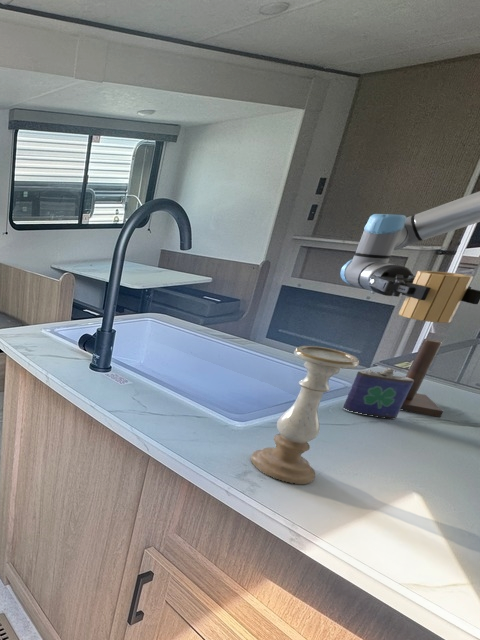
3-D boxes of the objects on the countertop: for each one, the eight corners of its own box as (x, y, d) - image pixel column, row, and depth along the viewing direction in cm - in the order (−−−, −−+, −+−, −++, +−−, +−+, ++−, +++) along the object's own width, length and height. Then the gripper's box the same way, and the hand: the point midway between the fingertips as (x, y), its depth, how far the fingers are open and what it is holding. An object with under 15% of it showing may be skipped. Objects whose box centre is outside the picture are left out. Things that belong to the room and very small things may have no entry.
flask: (392, 415, 91) (415, 369, 87) (399, 421, 89) (423, 374, 84) (340, 407, 94) (359, 361, 90) (345, 412, 92) (365, 366, 87)
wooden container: (441, 317, 99) (462, 273, 95) (456, 325, 93) (480, 278, 89) (394, 311, 103) (413, 269, 99) (405, 318, 96) (426, 273, 92)
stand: (422, 400, 99) (454, 339, 93) (440, 417, 91) (476, 351, 85) (368, 390, 104) (395, 331, 98) (380, 405, 96) (410, 342, 90)
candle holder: (318, 470, 71) (369, 355, 62) (307, 492, 65) (362, 369, 57) (258, 448, 76) (297, 340, 68) (243, 467, 71) (284, 351, 62)
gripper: (428, 297, 111) (504, 318, 91) (333, 290, 115) (385, 308, 95) (442, 267, 108) (524, 282, 88) (344, 261, 112) (400, 274, 92)
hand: (451, 295), depth 91 cm, fingers closed on wooden container, 9 cm apart
